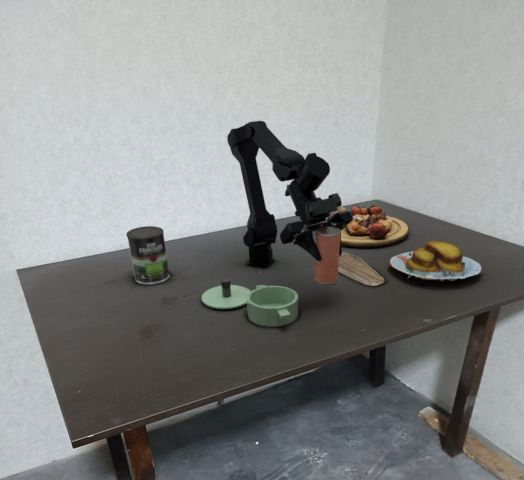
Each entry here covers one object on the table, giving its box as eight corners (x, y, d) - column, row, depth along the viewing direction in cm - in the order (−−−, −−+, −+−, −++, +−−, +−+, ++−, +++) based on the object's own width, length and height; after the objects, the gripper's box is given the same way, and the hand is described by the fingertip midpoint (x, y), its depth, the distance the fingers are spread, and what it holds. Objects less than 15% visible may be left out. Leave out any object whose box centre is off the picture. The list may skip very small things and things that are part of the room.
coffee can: (174, 280, 142) (168, 233, 135) (140, 287, 138) (131, 240, 131) (164, 268, 150) (157, 223, 142) (131, 275, 146) (122, 229, 138)
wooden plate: (418, 247, 157) (422, 222, 152) (320, 250, 158) (321, 225, 153) (396, 217, 184) (399, 195, 179) (313, 220, 185) (313, 198, 180)
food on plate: (372, 274, 141) (374, 252, 137) (414, 249, 156) (416, 229, 152) (457, 298, 126) (462, 274, 122) (494, 268, 141) (499, 247, 137)
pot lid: (208, 315, 123) (206, 295, 120) (196, 293, 134) (194, 274, 131) (259, 305, 127) (258, 285, 124) (243, 285, 137) (242, 266, 134)
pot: (261, 336, 113) (260, 317, 111) (238, 303, 128) (237, 286, 125) (310, 325, 117) (310, 307, 114) (283, 295, 131) (282, 278, 128)
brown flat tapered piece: (396, 279, 137) (397, 275, 136) (369, 290, 133) (369, 287, 133) (339, 250, 156) (339, 247, 155) (314, 260, 152) (313, 256, 151)
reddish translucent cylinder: (310, 282, 121) (311, 232, 114) (320, 274, 125) (321, 225, 118) (332, 287, 119) (334, 236, 112) (341, 278, 123) (344, 228, 116)
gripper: (285, 189, 108) (312, 250, 106) (351, 176, 116) (377, 234, 114) (268, 215, 119) (293, 271, 116) (330, 202, 126) (354, 255, 124)
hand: (330, 257), depth 117 cm, fingers closed on reddish translucent cylinder, 6 cm apart
